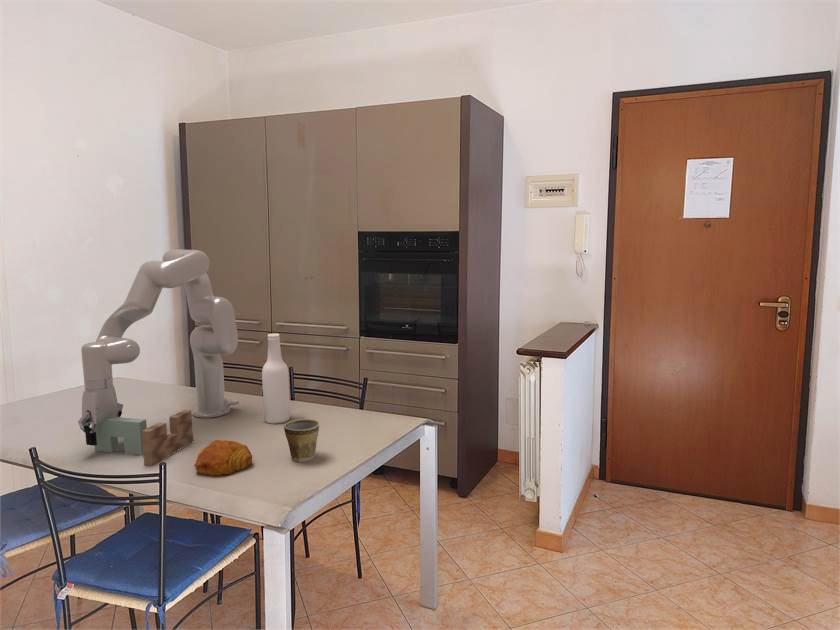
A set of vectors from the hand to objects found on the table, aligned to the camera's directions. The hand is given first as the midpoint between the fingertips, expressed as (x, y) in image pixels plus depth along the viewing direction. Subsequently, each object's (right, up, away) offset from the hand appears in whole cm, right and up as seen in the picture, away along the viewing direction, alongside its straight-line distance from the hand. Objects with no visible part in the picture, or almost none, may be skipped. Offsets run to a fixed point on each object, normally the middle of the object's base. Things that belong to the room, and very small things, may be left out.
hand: (103, 439), depth 185 cm
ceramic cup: (+61, -4, -5) cm, 61 cm away
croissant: (+40, -5, -13) cm, 42 cm away
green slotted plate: (+6, -3, -1) cm, 7 cm away
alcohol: (+46, +1, +27) cm, 53 cm away
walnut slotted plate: (+21, -4, -2) cm, 21 cm away
